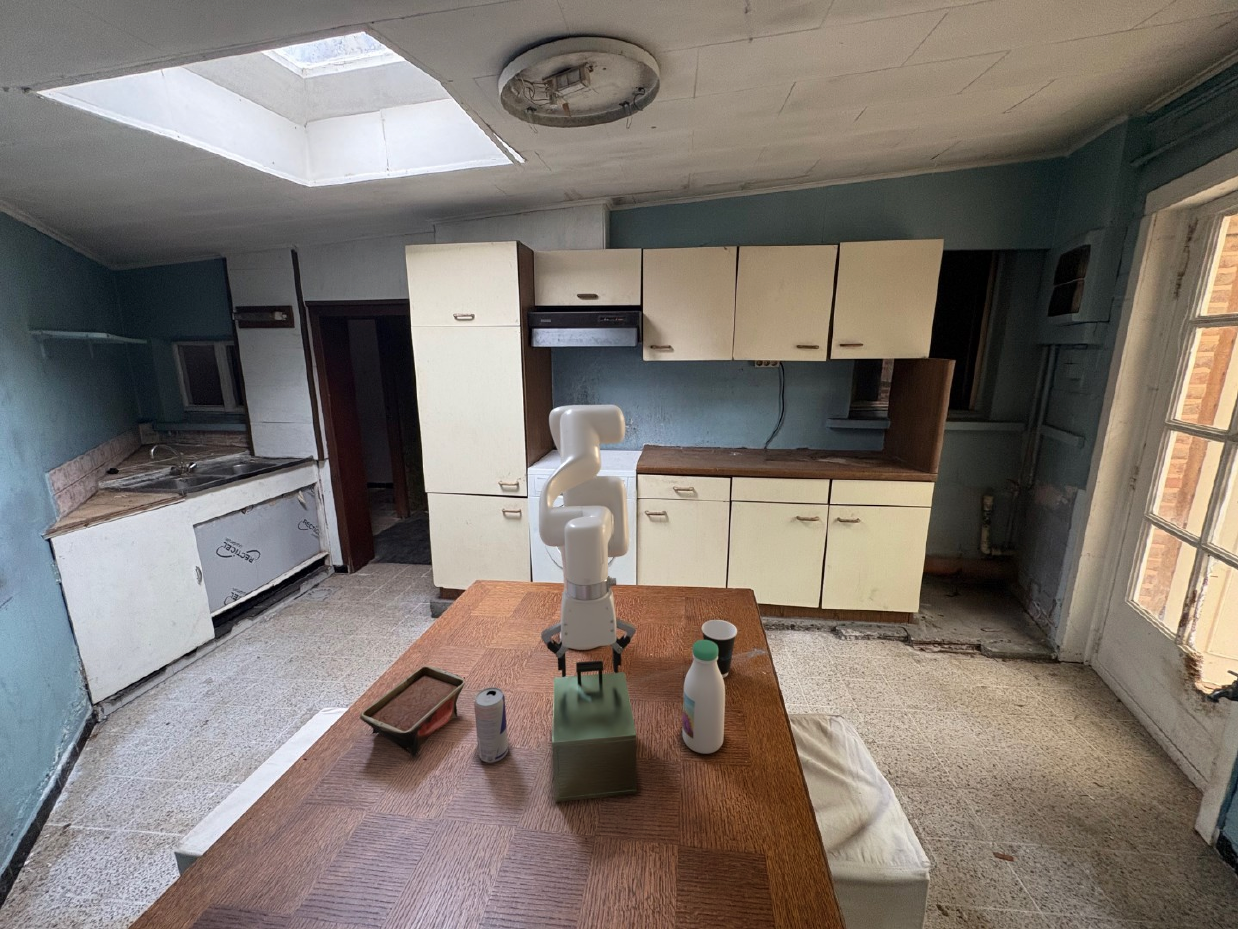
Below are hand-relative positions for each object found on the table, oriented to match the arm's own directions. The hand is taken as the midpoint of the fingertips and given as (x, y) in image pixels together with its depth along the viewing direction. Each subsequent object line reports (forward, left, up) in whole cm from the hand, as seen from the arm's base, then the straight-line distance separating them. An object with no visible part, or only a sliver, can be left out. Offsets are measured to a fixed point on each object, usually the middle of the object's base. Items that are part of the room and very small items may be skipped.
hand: (589, 670), depth 93 cm
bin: (+5, +4, -14) cm, 16 cm away
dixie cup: (-31, +14, -15) cm, 37 cm away
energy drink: (+13, -13, -15) cm, 23 cm away
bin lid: (+4, +4, -3) cm, 7 cm away
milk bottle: (-10, +19, -15) cm, 26 cm away
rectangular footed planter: (+16, -31, -15) cm, 38 cm away
